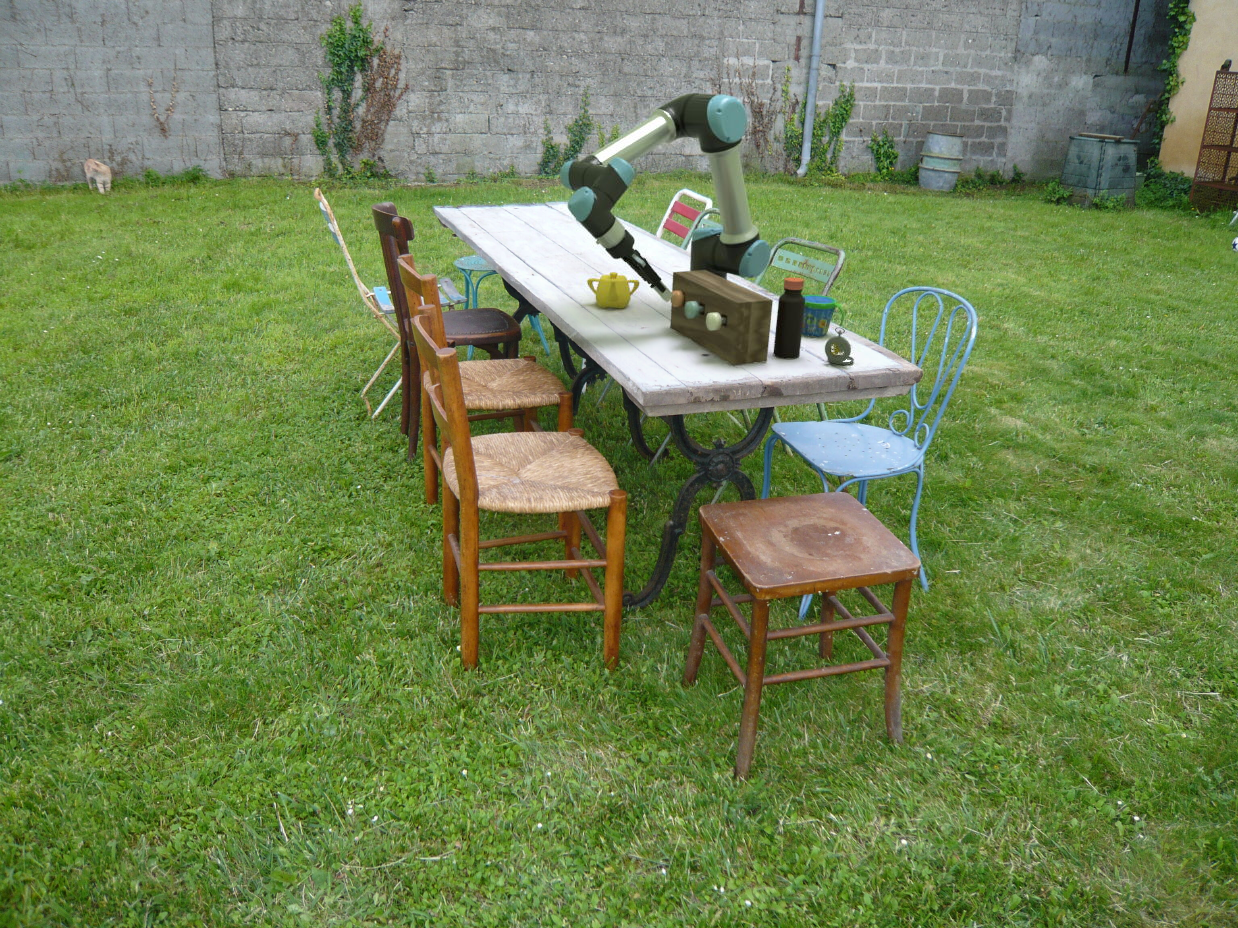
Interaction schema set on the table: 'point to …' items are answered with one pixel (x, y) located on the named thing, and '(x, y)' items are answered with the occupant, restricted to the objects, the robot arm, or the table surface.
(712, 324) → the cream button
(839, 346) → the pocket watch
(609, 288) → the yellow handled pot
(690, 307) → the teal button
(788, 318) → the bottle
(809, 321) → the snack cup
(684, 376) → the table surface
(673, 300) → the terracotta button
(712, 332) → the console
